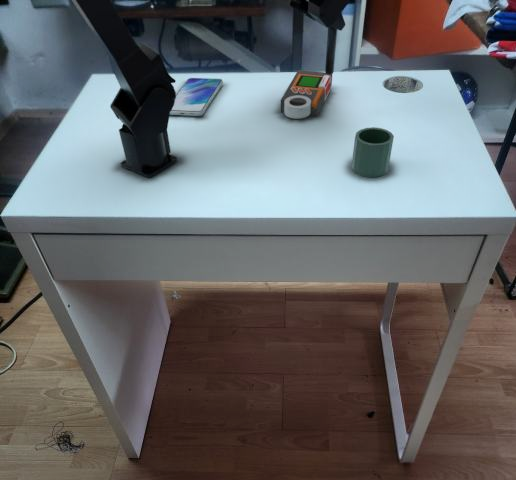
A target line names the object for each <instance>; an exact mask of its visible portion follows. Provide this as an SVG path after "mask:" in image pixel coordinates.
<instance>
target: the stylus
mask: <svg viewBox="0 0 516 480" xmlns="http://www.w3.org/2000/svg"><path fill="white" fill-rule="evenodd" d="M337 35H338V30H337V29H335V28H333V27H328V28H327V41H326V54H325V70H324V72H325V73H326V74H327V75H332V76H333V74H334V72H335V61H336V48H337Z"/></svg>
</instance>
